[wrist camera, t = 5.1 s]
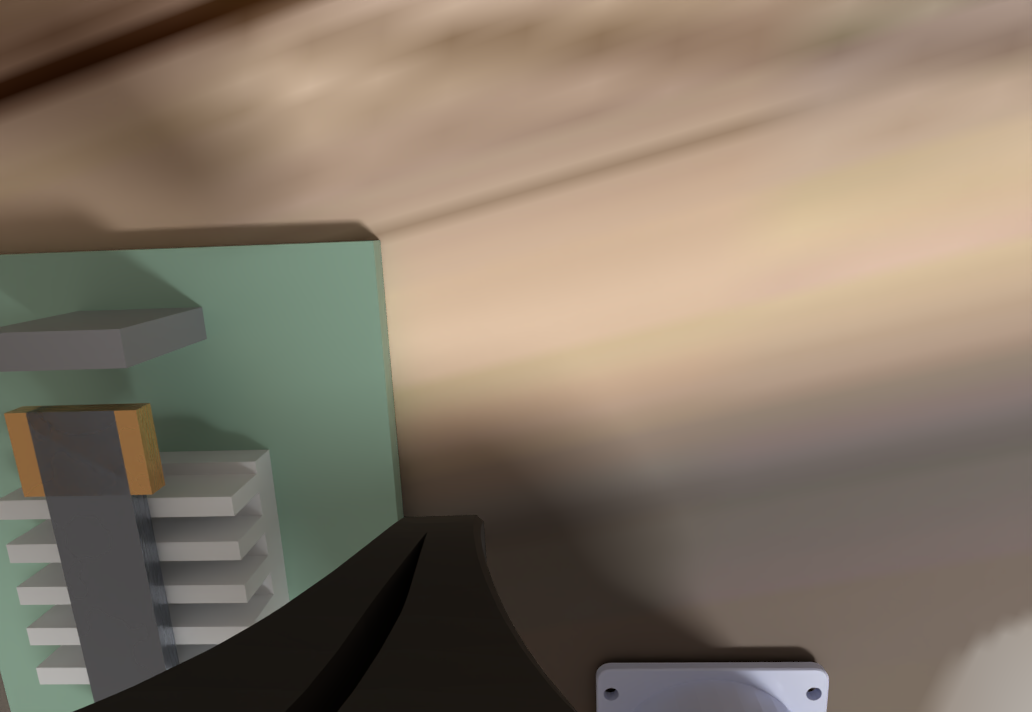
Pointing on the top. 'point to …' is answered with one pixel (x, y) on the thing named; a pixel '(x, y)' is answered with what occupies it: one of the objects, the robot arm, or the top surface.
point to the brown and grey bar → (102, 530)
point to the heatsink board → (201, 430)
